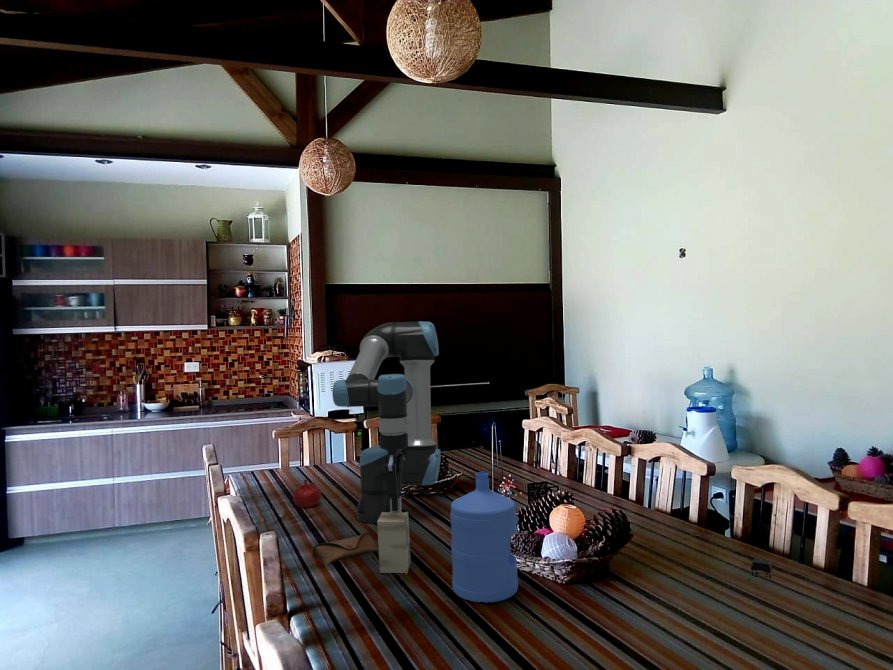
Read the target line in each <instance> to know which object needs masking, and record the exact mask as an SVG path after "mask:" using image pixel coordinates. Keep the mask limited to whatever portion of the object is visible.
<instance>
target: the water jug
mask: <svg viewBox="0 0 893 670" xmlns="http://www.w3.org/2000/svg"><path fill="white" fill-rule="evenodd" d="M489 475H490V474H489V471H488V472H487V471H478V472H475V478H476V479H475V489H474V490H473V491H470V492H468V493H467V494H465V495H462V496H461V497H458V498H456V499H454V500H453V501H452V502H451V504H450V525H451V526H450V527H451V549H450V551H451V559H452V560H451V561H452V580H451V581H452V583H451V584H452V590H453V592H454V593H455V595H457V596H458V597H459V598H461V599H463V600H466V601H468V600H469V601H470V602H473V603H480V602H484V604H486V603H487V604H488V603H489V602H490V603H497V602H502V601H505V600H507V599H510V598H511V597H513V596H514V595H516V593H517V592H518V589H519V579H518V564H517V563H518V561H517V558H516V556H515V554H513V553H512V548H511V547H512V544H511V540H512V539H511V537H512V536H514V535H515V534H516V532H517V510H516V503H515V501H514V500H512V499H511V498H510V497H508V496H505V495H503V494H500V493H498V492H495V491H493V490H491V489H490V485H489V484H490V479H489Z"/></svg>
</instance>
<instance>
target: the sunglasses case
mask: <svg viewBox="0 0 893 670" xmlns="http://www.w3.org/2000/svg"><path fill="white" fill-rule="evenodd" d="M375 551H377V552H379V546H378V545H377V544H376V543H375V541H374V540H373V539H372V537H371V535H370V533H369V532H365V533H362V534H359V535H355V536H349V537H346V538H342V539H337V540H333V541H329V542H323V543H317V544H315V545H314V547H313V549H312V557H315V558H317V559H319V560H320V561H322V562H324V563H331V564H333V563H332V562H334V563H336V562H335V561H337V562H339V561H338V560H341V561H344V560H348V559H351V557H352V558H354V557H355V556H356V557H359V556H363V554H364V555H367V553H368V554H371V552H372V553H376V552H375ZM356 557H355V558H356ZM315 558H314V559H315ZM347 558H348V559H347ZM317 559H316V560H317ZM343 559H344V560H343ZM319 560H318V561H319ZM320 561H319V562H320ZM322 562H321V563H322ZM324 563H323V564H324Z"/></svg>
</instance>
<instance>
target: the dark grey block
mask: <svg viewBox="0 0 893 670" xmlns="http://www.w3.org/2000/svg"><path fill="white" fill-rule="evenodd" d="M750 570H751V572H752V576H755V577H760V575H761V574H765V575H768V574H769V578H771V574H772V573H773V567H772V564H771V560H769V559H763V560H761V559H760V558H753V560H752V563H751V565H750ZM758 571H761V572H758ZM760 573H761V574H760ZM759 574H760V575H759ZM765 575H764V576H765ZM765 577H768V576H765Z"/></svg>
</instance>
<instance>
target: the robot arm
mask: <svg viewBox="0 0 893 670" xmlns="http://www.w3.org/2000/svg"><path fill="white" fill-rule="evenodd" d="M436 330H437V329H436V327H435V325H434V323H432V322H431V321H421V320H420V321H402V322H401V321H398V322H397V321H396V322H395V321H394V322H391V321H390V322H385V323H383V324H380V325H378V326H376V327H374V328H372V329H371V330H369V332H367V333H366V334H365V335H364V337H363V338H362V340H361V342H360V344H359V353H358V355H357V357H356V359H355V361H354V363H353V365H352V367H351V369H350V371H349V374H348V375H347V377H346V379H344V378H343V379H341V380H339V379H338V380H335V381H334V383H333V386H332V390H331V391H332V395H331V396H332V400H333V404H334V405H335V407H342V408H343V407H345V408H346V407H347V408H352V407H353V408H354V407H356V408H357V407H378V432H379V433H380V434H379V445H375V446H372V447H368V448H365V449H363V450H362V451H361V453H360V455H359V474H360V475H359V476H360V497H359V500H358V504H357V508H356V512H355V513H356V519H357V521H359V522H362V523H366V524H368V523H369V524H377V521H378V519H379V517H380V515H381V513H382V512H403V509H402V497H403V496H405V493H404V492H403V486H432V485H434V484H436V483H437V482H438V478H439V473H440V468H441V467H440V466H441V457H442V456H441V453H442V452H441V449H439V448H437V443H436V442H435V441H434V440H433V439H432V411H431V410H432V409H431V408H432V407H431V405H432V403H431V401H432V400H431V366H432V365H433V364H434V363H435V357H438V356H439V355H440V351H439V350H440V349H439V340H438V334H437V331H436ZM392 357H395V358H396V357H398V358H399V363H400V364H401V365H402V366H403V368H404V374H402V373H401V374H400V373H391V374H381V375H380V376H379V377H378V379H375V378H376V377H377V374H378V371H379V368H380V366H381V364H382V362H383V361H384V360H385V359H386V358H392Z"/></svg>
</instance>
